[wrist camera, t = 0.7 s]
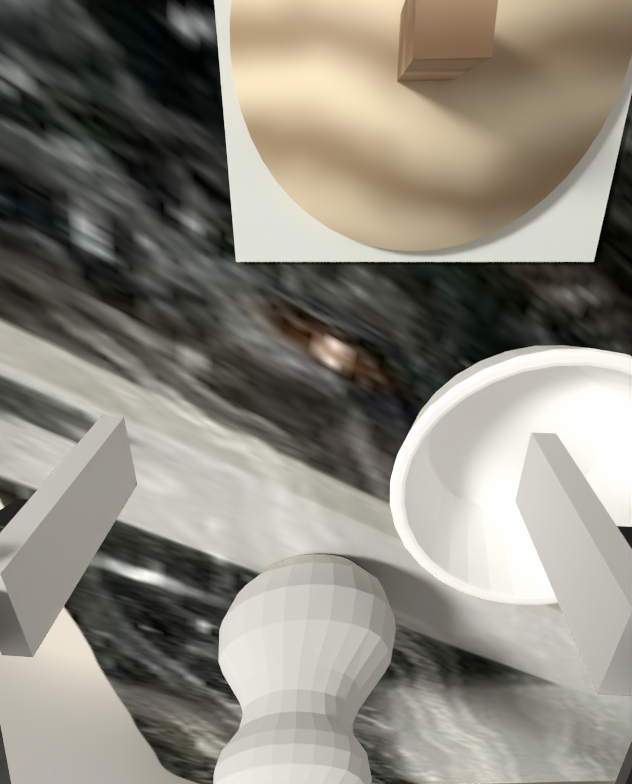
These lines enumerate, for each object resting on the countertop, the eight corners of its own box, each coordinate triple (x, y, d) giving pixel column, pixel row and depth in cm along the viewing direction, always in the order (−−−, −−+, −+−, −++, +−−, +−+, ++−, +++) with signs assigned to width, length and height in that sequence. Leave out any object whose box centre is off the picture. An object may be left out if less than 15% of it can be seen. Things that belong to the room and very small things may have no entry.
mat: (197, -230, 27) (194, -237, 27) (706, -264, 26) (713, -273, 25) (237, 260, 39) (236, 261, 38) (590, 260, 37) (593, 261, 37)
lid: (215, -211, 27) (133, -413, 17) (686, -242, 26) (897, -485, 16) (248, 248, 38) (209, 287, 28) (582, 247, 36) (668, 289, 26)
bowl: (337, 388, 43) (333, 441, 36) (607, 254, 37) (670, 284, 30) (448, 565, 51) (464, 638, 44) (686, 479, 45) (751, 547, 38)
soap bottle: (376, 522, 49) (399, 959, 23) (403, 605, 54) (448, 1046, 28) (216, 553, 53) (78, 967, 26) (255, 629, 57) (171, 1044, 31)
